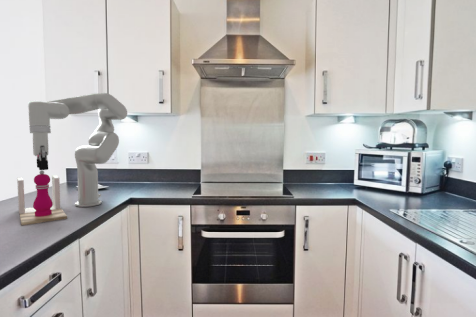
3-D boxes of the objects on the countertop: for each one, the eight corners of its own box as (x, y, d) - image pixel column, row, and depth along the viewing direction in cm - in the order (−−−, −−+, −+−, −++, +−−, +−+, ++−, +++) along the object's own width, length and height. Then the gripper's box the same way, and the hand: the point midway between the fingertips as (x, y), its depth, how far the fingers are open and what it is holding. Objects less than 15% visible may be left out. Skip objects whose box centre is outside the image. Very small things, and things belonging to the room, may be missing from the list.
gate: (18, 210, 135) (17, 177, 134) (57, 205, 146) (56, 175, 144) (19, 214, 128) (18, 180, 127) (60, 209, 138) (59, 177, 137)
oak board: (19, 216, 126) (19, 213, 125) (61, 210, 136) (61, 208, 136) (21, 225, 113) (21, 222, 113) (67, 218, 124) (67, 215, 124)
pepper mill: (30, 217, 120) (28, 171, 119) (37, 212, 127) (35, 169, 126) (49, 216, 122) (47, 171, 121) (55, 212, 129) (54, 169, 128)
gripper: (28, 129, 126) (30, 167, 128) (31, 130, 113) (33, 171, 114) (48, 129, 131) (50, 166, 132) (53, 130, 118) (55, 170, 119)
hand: (42, 168), depth 123 cm, fingers open, 9 cm apart
